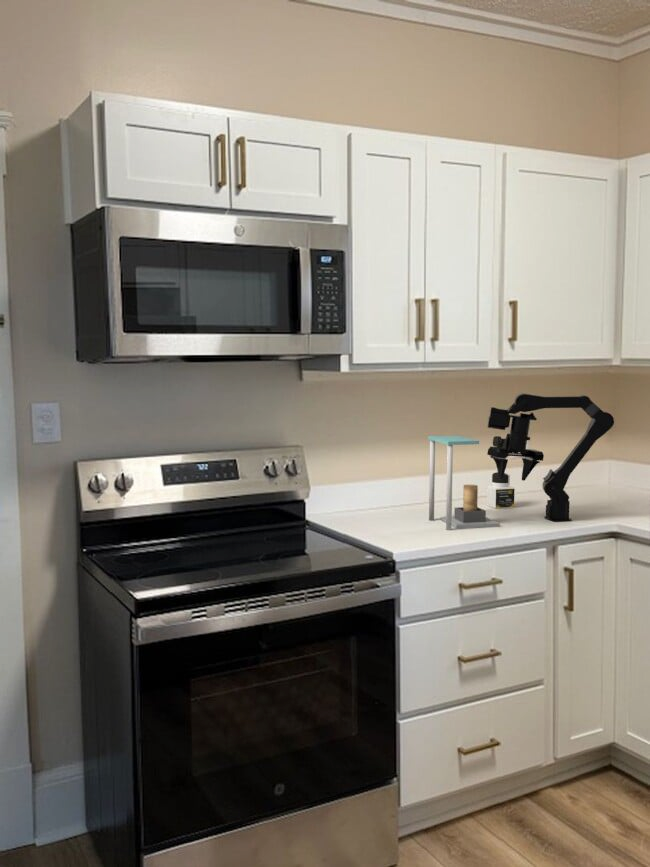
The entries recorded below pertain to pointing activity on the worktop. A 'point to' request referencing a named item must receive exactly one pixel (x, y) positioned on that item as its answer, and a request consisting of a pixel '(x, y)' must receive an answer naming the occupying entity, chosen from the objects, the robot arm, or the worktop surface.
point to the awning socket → (460, 517)
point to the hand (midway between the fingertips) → (511, 479)
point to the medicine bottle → (500, 492)
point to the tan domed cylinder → (470, 497)
